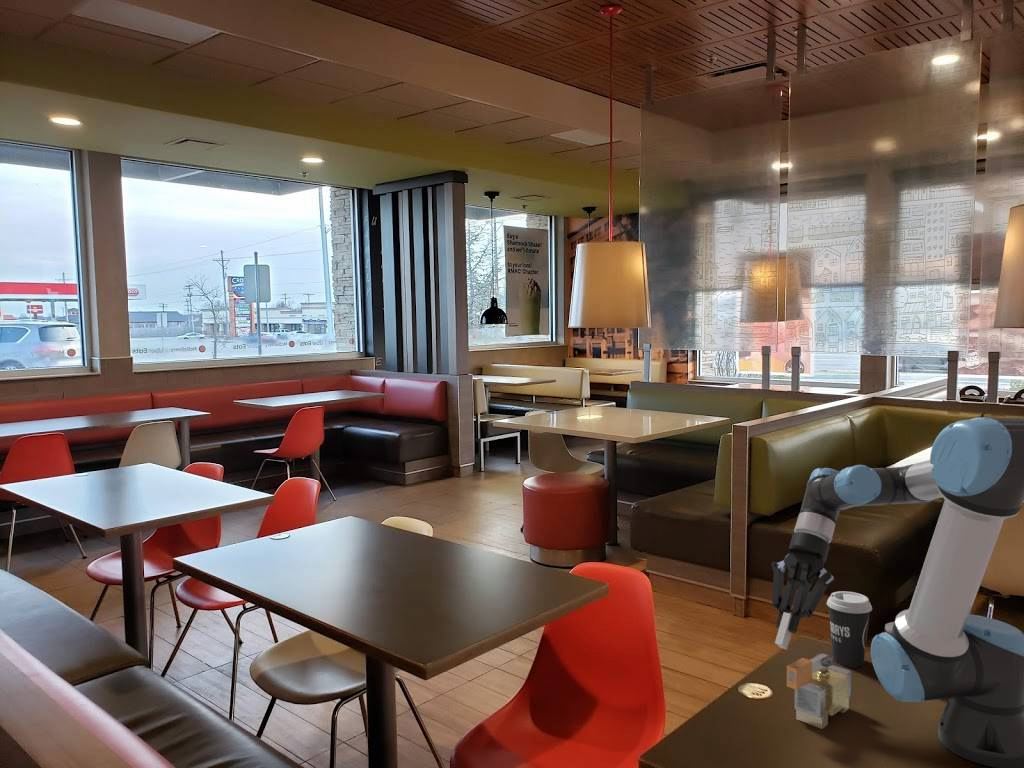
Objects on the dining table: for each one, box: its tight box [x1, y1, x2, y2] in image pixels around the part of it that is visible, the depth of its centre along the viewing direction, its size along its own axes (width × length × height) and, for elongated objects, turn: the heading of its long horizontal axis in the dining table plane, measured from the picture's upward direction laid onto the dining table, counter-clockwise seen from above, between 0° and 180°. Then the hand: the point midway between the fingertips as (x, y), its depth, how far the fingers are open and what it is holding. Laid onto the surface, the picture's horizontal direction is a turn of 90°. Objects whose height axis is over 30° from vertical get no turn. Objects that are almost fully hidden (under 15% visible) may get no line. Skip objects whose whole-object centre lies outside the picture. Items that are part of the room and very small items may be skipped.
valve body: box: [793, 664, 852, 730], centre depth 153 cm, size 13×7×9 cm, turn 132°
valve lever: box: [786, 653, 833, 691], centre depth 150 cm, size 13×3×4 cm, turn 129°
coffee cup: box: [826, 590, 873, 668], centre depth 178 cm, size 10×10×15 cm
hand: (780, 646), depth 155 cm, fingers closed
